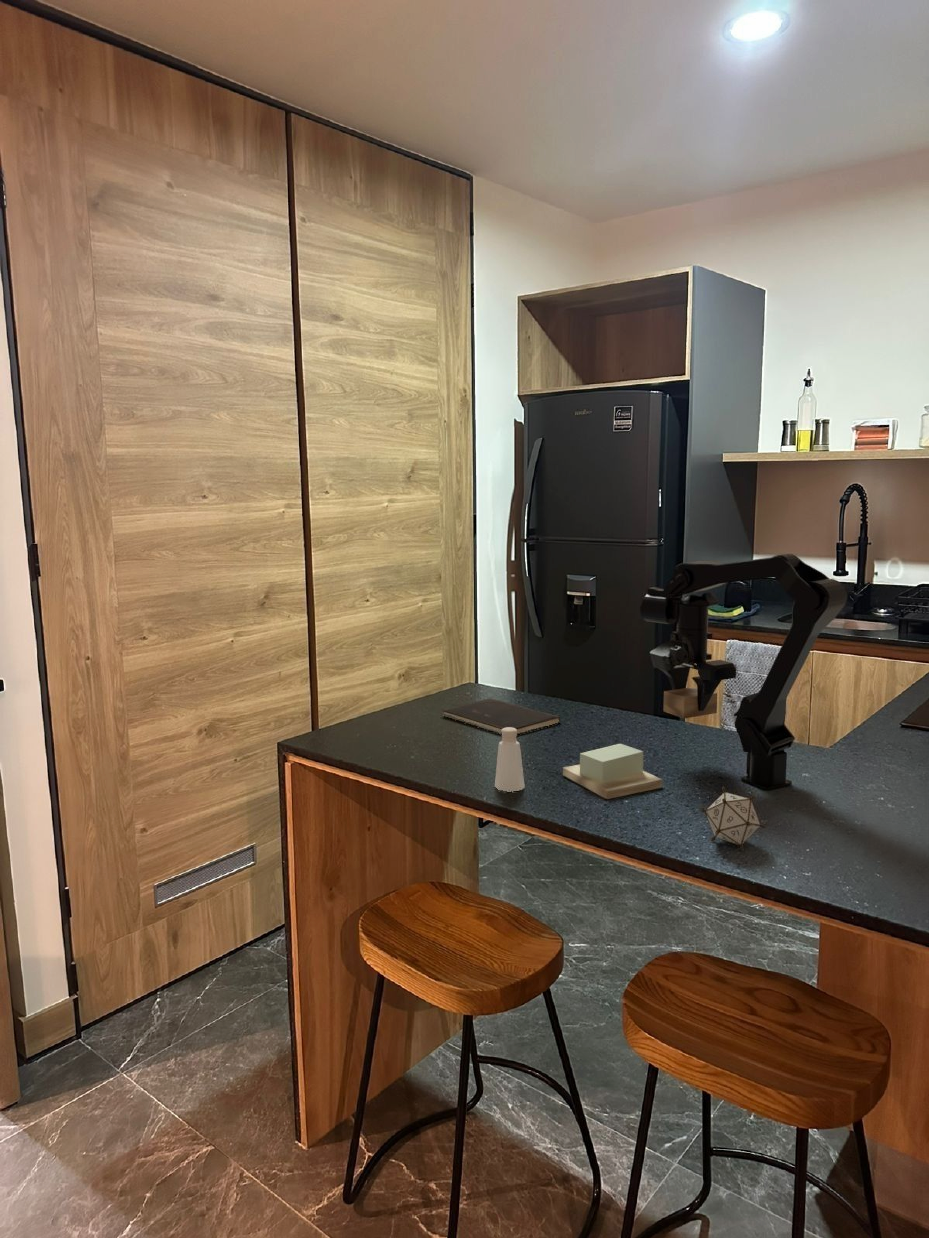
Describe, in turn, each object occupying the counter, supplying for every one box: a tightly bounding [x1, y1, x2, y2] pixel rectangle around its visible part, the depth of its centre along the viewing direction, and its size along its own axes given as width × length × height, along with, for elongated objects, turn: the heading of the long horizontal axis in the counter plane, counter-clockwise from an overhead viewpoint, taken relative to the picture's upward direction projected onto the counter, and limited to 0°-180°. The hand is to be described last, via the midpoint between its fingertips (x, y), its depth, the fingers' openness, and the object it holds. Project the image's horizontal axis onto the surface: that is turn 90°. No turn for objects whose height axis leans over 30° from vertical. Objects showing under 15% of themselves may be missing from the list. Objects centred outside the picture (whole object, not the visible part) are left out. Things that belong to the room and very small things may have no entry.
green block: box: [579, 743, 644, 784], centre depth 159 cm, size 6×10×4 cm, turn 124°
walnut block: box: [662, 686, 718, 720], centre depth 168 cm, size 6×8×4 cm
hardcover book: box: [441, 697, 561, 734], centre depth 201 cm, size 16×23×2 cm
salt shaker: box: [494, 727, 525, 793], centre depth 157 cm, size 5×5×11 cm
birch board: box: [562, 763, 663, 800], centre depth 160 cm, size 14×12×2 cm
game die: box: [698, 786, 767, 851], centre depth 132 cm, size 9×8×10 cm
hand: (690, 706), depth 169 cm, fingers closed on walnut block, 6 cm apart
